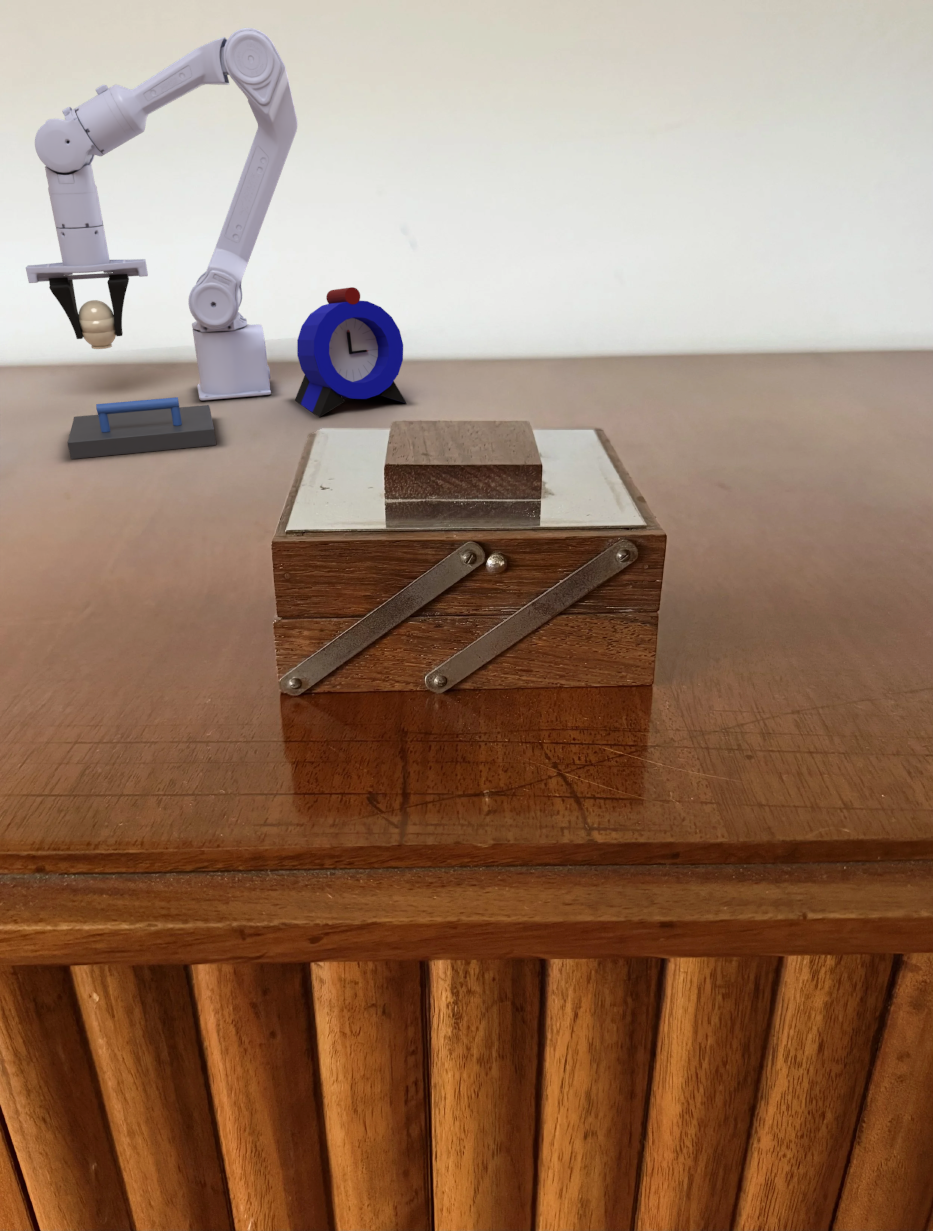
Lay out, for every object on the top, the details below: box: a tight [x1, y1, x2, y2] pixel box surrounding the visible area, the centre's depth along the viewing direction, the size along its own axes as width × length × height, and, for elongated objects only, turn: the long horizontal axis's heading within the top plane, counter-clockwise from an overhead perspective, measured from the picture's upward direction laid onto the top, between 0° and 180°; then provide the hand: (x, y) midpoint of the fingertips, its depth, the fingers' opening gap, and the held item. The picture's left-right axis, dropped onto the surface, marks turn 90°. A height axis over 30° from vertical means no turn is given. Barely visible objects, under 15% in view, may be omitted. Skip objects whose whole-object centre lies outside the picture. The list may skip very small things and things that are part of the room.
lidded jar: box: [78, 299, 117, 350], centre depth 130 cm, size 4×4×6 cm
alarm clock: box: [294, 286, 408, 418], centre depth 128 cm, size 12×12×15 cm
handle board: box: [67, 396, 217, 460], centre depth 116 cm, size 16×11×5 cm
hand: (100, 336), depth 130 cm, fingers closed on lidded jar, 4 cm apart
